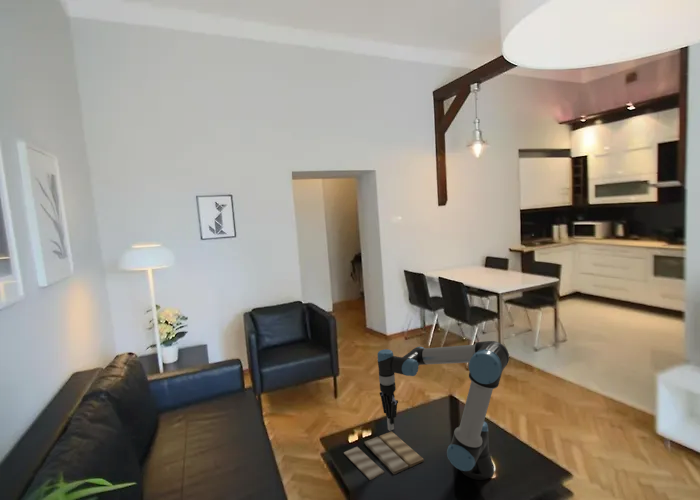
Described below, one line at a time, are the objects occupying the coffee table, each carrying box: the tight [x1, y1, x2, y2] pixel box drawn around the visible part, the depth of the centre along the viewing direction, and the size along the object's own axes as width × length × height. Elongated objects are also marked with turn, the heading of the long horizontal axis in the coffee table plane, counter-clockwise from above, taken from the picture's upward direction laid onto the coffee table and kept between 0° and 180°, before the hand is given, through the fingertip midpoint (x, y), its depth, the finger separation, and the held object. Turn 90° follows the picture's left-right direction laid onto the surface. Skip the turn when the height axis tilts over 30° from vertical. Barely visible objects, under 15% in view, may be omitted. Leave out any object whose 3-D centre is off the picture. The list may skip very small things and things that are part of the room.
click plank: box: [364, 436, 409, 475], centre depth 186 cm, size 28×8×1 cm, turn 27°
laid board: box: [378, 430, 425, 468], centre depth 190 cm, size 28×8×1 cm, turn 27°
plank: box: [343, 446, 385, 481], centre depth 182 cm, size 24×8×1 cm, turn 31°
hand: (391, 429), depth 181 cm, fingers closed
